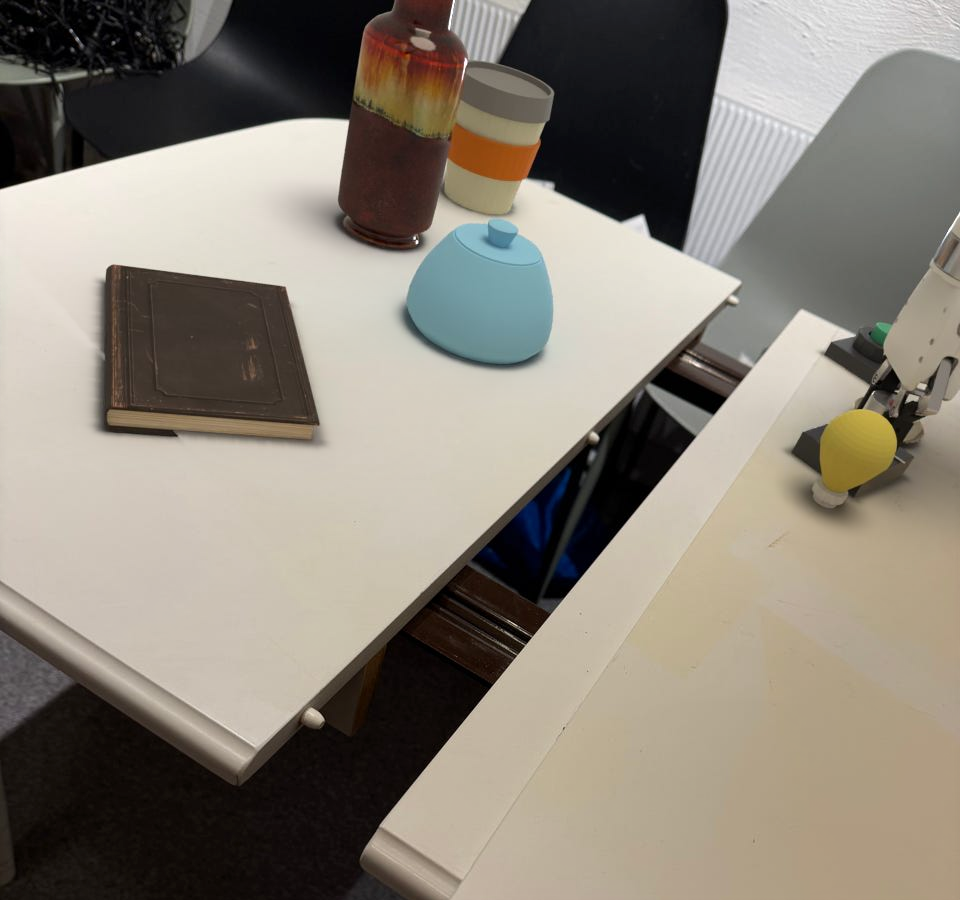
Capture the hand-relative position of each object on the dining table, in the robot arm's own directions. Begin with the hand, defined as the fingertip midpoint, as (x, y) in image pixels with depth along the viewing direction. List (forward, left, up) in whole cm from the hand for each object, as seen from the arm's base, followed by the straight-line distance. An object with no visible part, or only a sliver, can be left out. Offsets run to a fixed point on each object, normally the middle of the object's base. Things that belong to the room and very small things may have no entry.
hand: (872, 435), depth 99 cm
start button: (-24, -13, 0) cm, 27 cm away
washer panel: (+2, 0, -4) cm, 4 cm away
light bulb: (+11, +3, -4) cm, 12 cm away
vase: (+22, -55, -4) cm, 59 cm away
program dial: (0, 0, -1) cm, 1 cm away
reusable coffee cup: (+1, -62, -4) cm, 62 cm away
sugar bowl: (+26, -33, -4) cm, 42 cm away
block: (-24, -13, -4) cm, 28 cm away
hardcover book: (+56, -35, -4) cm, 66 cm away
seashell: (-11, -3, -4) cm, 12 cm away
